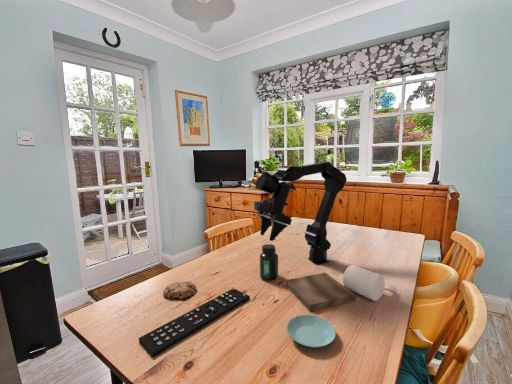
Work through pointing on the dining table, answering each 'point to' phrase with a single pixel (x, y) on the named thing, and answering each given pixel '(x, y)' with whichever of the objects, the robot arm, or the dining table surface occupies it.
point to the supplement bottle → (268, 263)
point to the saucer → (311, 331)
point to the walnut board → (319, 291)
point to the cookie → (179, 290)
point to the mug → (364, 282)
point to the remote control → (191, 322)
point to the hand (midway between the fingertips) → (266, 237)
